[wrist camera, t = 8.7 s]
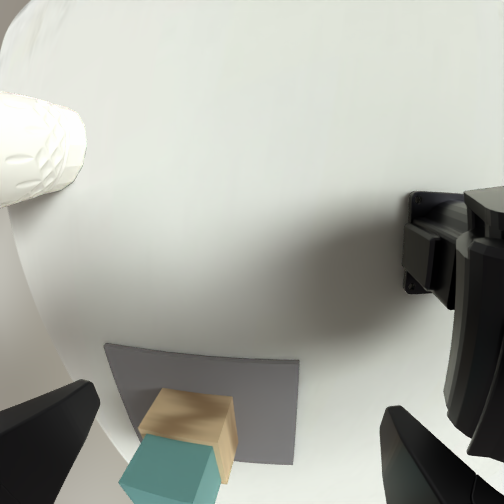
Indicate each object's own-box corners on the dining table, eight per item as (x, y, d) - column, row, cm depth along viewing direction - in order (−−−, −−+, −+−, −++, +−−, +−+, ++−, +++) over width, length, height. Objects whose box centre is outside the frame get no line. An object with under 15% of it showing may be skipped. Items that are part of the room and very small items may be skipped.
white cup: (27, 120, 19) (-63, 120, 9) (90, 85, 17) (-14, 60, 8) (36, 206, 21) (-57, 231, 11) (100, 185, 19) (-13, 206, 10)
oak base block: (232, 396, 21) (217, 443, 17) (238, 441, 23) (227, 484, 18) (162, 387, 22) (137, 427, 18) (176, 432, 24) (158, 470, 19)
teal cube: (212, 446, 17) (192, 503, 12) (221, 480, 18) (206, 530, 13) (146, 433, 18) (118, 482, 13) (162, 469, 19) (142, 513, 14)
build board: (299, 360, 20) (299, 364, 20) (293, 461, 24) (292, 464, 23) (106, 343, 23) (103, 345, 22) (142, 440, 26) (140, 443, 26)
